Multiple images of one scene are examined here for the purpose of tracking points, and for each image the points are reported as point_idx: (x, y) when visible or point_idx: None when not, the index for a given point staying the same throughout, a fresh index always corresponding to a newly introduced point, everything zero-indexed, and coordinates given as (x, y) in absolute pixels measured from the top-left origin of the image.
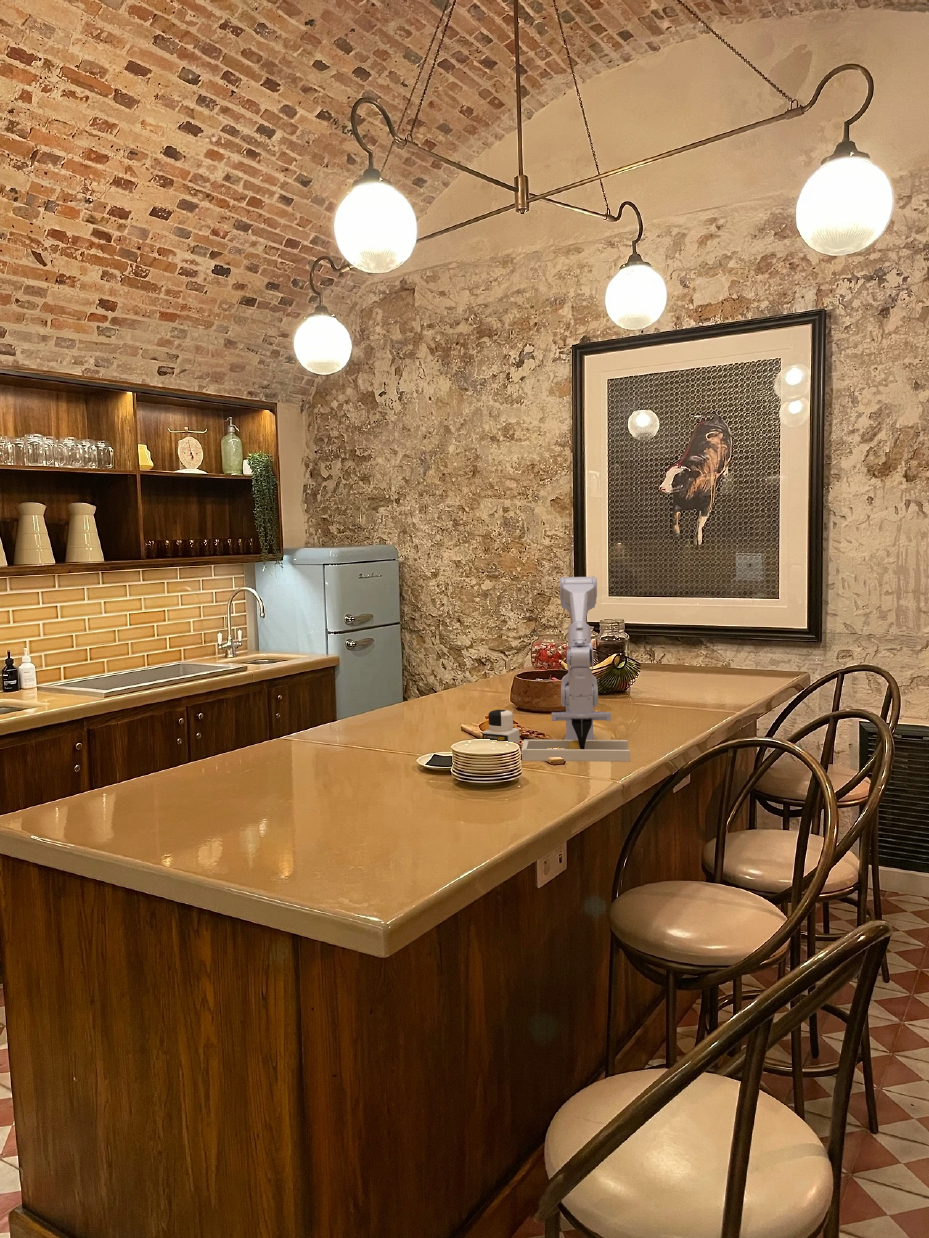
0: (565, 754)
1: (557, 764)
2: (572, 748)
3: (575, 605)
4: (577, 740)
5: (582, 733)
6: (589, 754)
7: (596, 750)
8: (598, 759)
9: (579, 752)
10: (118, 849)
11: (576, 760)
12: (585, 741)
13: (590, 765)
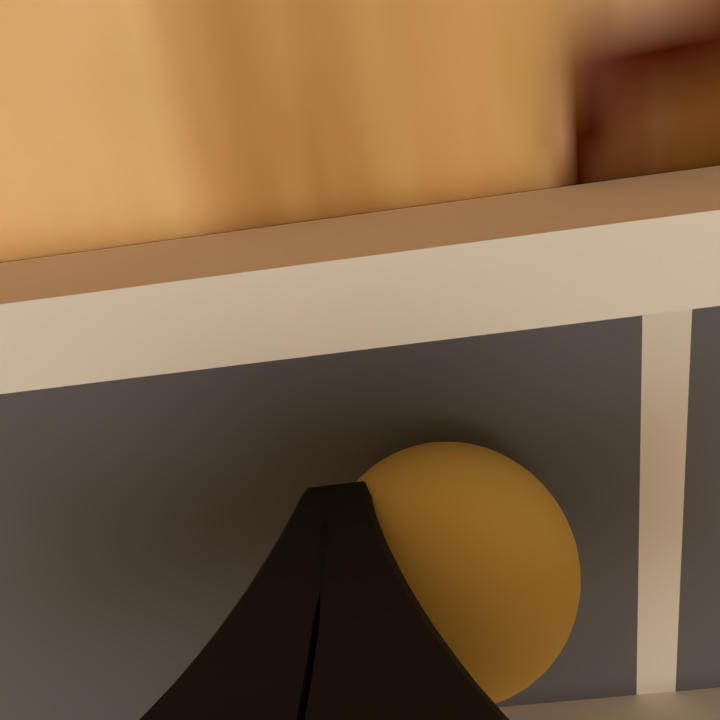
0: (599, 207)
1: (688, 37)
2: (498, 475)
3: None
4: None
5: (292, 682)
6: (172, 265)
7: (23, 309)
8: (57, 261)
9: (344, 247)
10: None
11: (396, 214)
12: (258, 573)
13: (156, 67)
